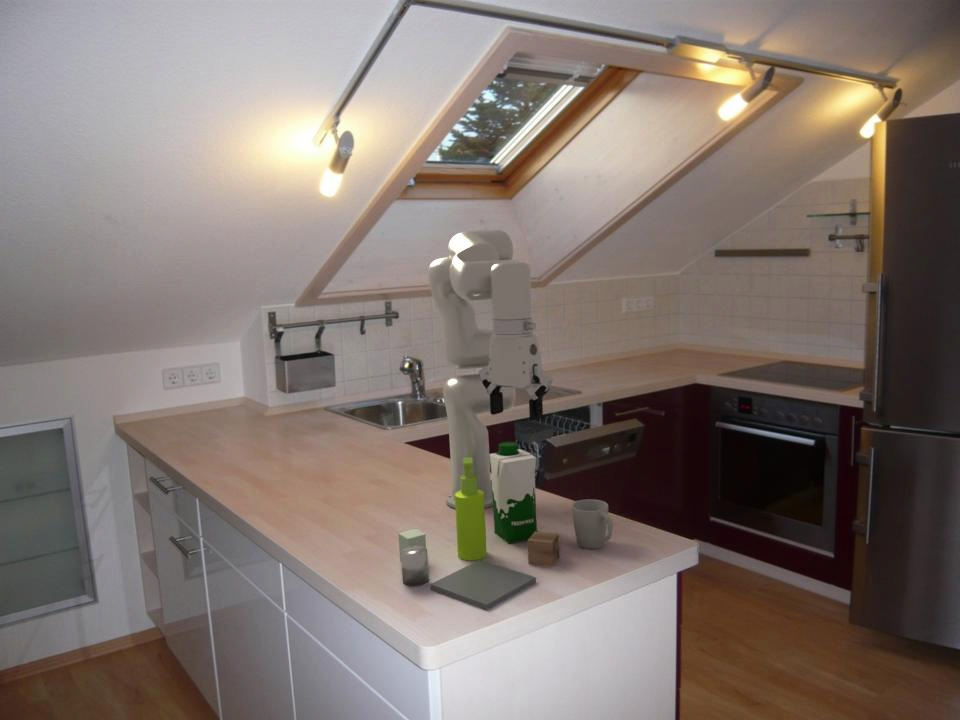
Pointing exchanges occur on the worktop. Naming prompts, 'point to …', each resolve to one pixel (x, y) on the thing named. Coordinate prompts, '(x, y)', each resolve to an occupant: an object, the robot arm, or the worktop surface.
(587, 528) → the cup
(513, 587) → the plate
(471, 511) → the lime spray bottle
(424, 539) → the pale green box
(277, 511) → the worktop surface
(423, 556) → the metal tin
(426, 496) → the worktop surface
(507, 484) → the milk carton
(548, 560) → the walnut block
